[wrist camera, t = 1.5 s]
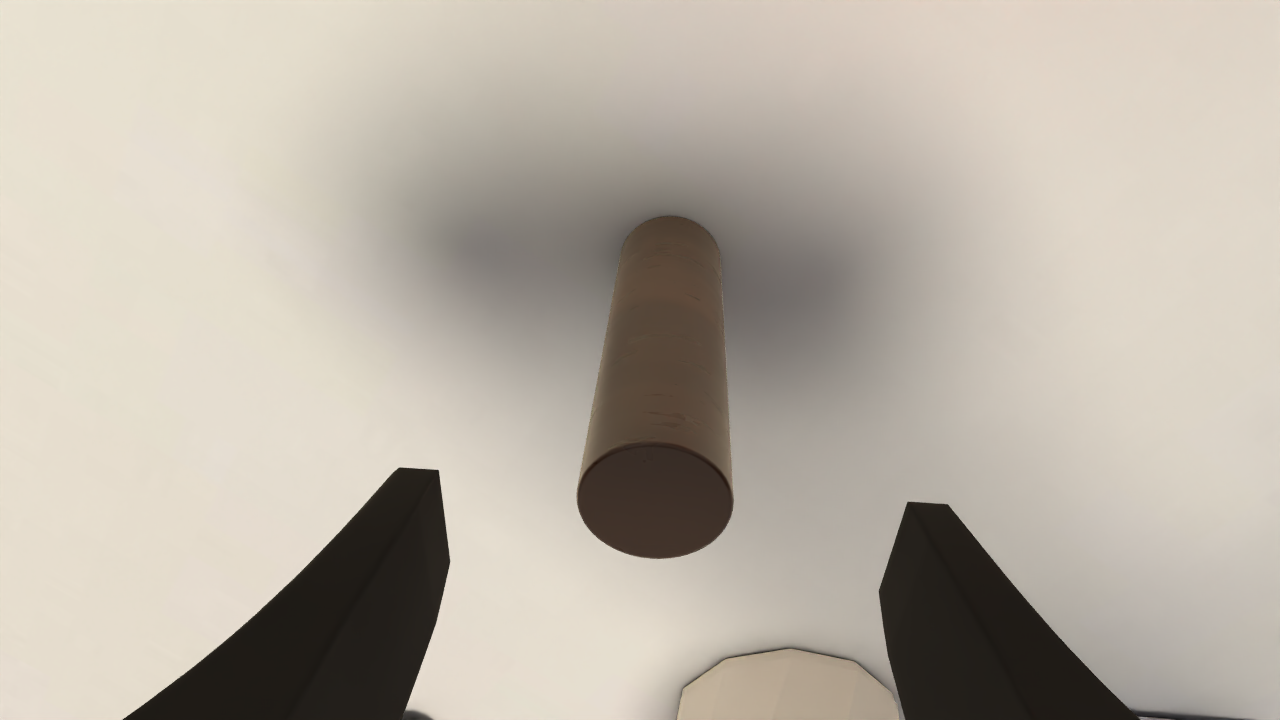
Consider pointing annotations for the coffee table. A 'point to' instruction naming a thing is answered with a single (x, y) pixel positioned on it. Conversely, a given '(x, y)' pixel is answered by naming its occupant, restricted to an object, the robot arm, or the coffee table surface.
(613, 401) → the brown cylinder
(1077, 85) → the coffee table surface
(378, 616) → the robot arm
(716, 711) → the vase
